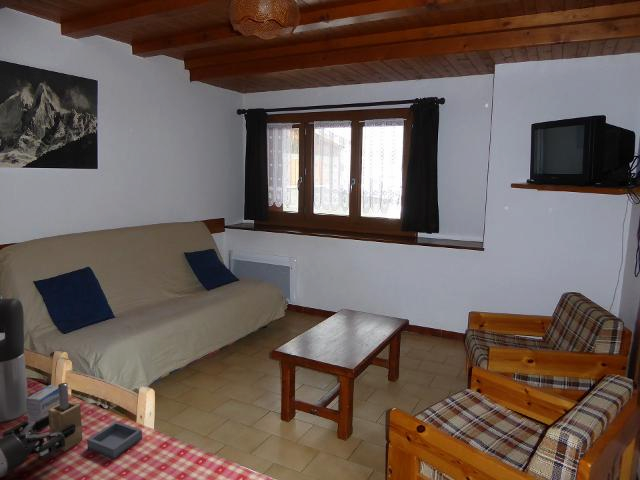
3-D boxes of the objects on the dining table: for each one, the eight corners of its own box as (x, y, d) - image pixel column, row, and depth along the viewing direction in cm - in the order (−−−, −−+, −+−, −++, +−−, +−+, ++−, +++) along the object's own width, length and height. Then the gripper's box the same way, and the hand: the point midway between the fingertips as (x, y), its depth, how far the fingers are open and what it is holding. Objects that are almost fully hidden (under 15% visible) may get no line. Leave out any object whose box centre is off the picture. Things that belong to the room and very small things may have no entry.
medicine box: (42, 430, 120) (39, 400, 118) (27, 427, 121) (25, 398, 119) (64, 414, 128) (62, 386, 126) (50, 412, 128) (48, 384, 127)
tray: (87, 448, 113) (87, 439, 113) (116, 429, 121) (116, 421, 121) (114, 458, 110) (113, 449, 109) (142, 438, 118) (141, 430, 117)
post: (61, 442, 115) (57, 384, 112) (70, 439, 116) (66, 382, 114) (63, 446, 114) (58, 387, 111) (71, 443, 115) (68, 385, 112)
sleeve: (50, 445, 114) (48, 409, 112) (68, 435, 118) (66, 399, 116) (64, 451, 112) (62, 414, 110) (82, 440, 116) (80, 404, 114)
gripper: (14, 454, 95) (81, 416, 110) (-28, 436, 101) (42, 402, 115) (17, 486, 96) (83, 444, 111) (-25, 466, 102) (44, 429, 117)
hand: (62, 423), depth 113 cm, fingers open, 8 cm apart
